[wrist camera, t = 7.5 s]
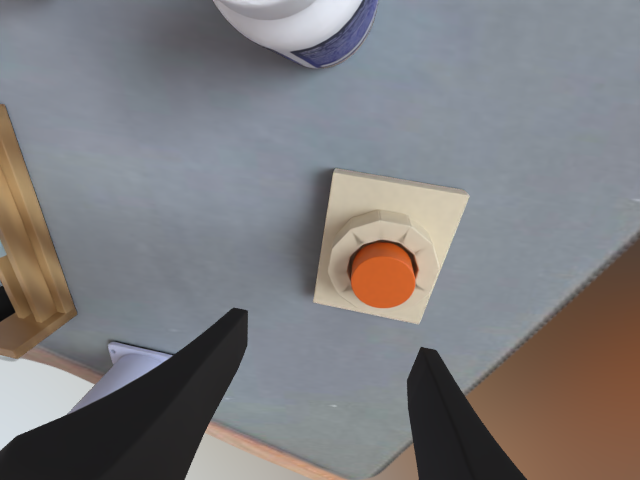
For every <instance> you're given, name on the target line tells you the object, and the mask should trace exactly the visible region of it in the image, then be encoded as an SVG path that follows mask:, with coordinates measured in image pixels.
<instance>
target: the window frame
mask: <svg viewBox="0 0 640 480" xmlns="http://www.w3.org/2000/svg"><path fill="white" fill-rule="evenodd" d="M0 240H1V243H2V245H3V247H4V249H5V252H6V254H7V255H6V256H3V257H1V258H0V280H1V282H2V284H3V286H4V289H5V291H6V293H7V295H8V297H9V299H10V301H11V303H12V305H13V307H14V310H15V312H16V313H14V314H12V315H11V316H9V317H7V318H6V319H4V320H3V321H1V322H0V355H3V356H7V357H11V358H15V359H18V358H20V357H21V356H22V355H24V354H25V353H26V352H28V351H29V350H30V349H32V348H33V347H34V346H36V345H37V344H38V343H40V342H41V341H42V340H44V339H45V338H46V337H48V336H49V335H50V334H52V333H53V332H54V331H56V330H57V329H58V328H60V327H61V326H62V325H64V324H65V323H67V322H68V321H69V320H71V319H72V318H73V317H75V316H76V315H77V312H76V309H75V306H74V303H73V301H72V298H71V295H70V292H69V289H68V286H67V283H66V280H65V277H64V275H63V272H62V269H61V266H60V263H59V260H58V257H57V254H56V252H55V249H54V246H53V243H52V240H51V237H50V234H49V231H48V228H47V226H46V223H45V220H44V217H43V214H42V211H41V208H40V205H39V203H38V200H37V197H36V194H35V191H34V188H33V185H32V182H31V179H30V177H29V174H28V171H27V168H26V165H25V162H24V159H23V156H22V153H21V151H20V148H19V145H18V142H17V139H16V136H15V133H14V130H13V128H12V125H11V122H10V118H9V116H8V113H7V110H6V107H5V105H4V104H0Z"/></svg>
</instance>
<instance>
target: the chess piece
mask: <svg viewBox="0 0 640 480" xmlns="http://www.w3.org/2000/svg"><path fill="white" fill-rule="evenodd" d="M14 313H16V312H15V310H14V307H13V305H12V303H11V301H10V299H9V297H8V295H7V293H6V291H5V289H4V287H0V322H1V321H3V320H4V319H6V318H7V317H9V316H11V315H12V314H14Z"/></svg>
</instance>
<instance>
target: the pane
mask: <svg viewBox="0 0 640 480" xmlns="http://www.w3.org/2000/svg"><path fill="white" fill-rule="evenodd" d="M6 255H7V254H6V252H5V249H4V247H3V245H2V243H1V240H0V258H1V257H3V256H6Z"/></svg>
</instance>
